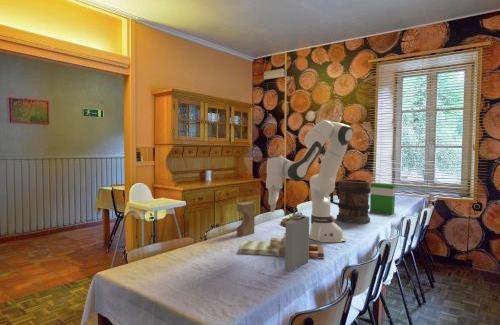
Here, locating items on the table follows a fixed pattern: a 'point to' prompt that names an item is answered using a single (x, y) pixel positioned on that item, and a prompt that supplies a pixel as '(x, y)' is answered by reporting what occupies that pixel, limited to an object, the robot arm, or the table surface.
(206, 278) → the table surface
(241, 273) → the table surface
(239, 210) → the decorative block
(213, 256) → the table surface
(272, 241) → the birch bar
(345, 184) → the wooden tankard
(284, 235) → the tunnel
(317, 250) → the track deck
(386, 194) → the hardback book
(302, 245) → the flask
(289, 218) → the plant
